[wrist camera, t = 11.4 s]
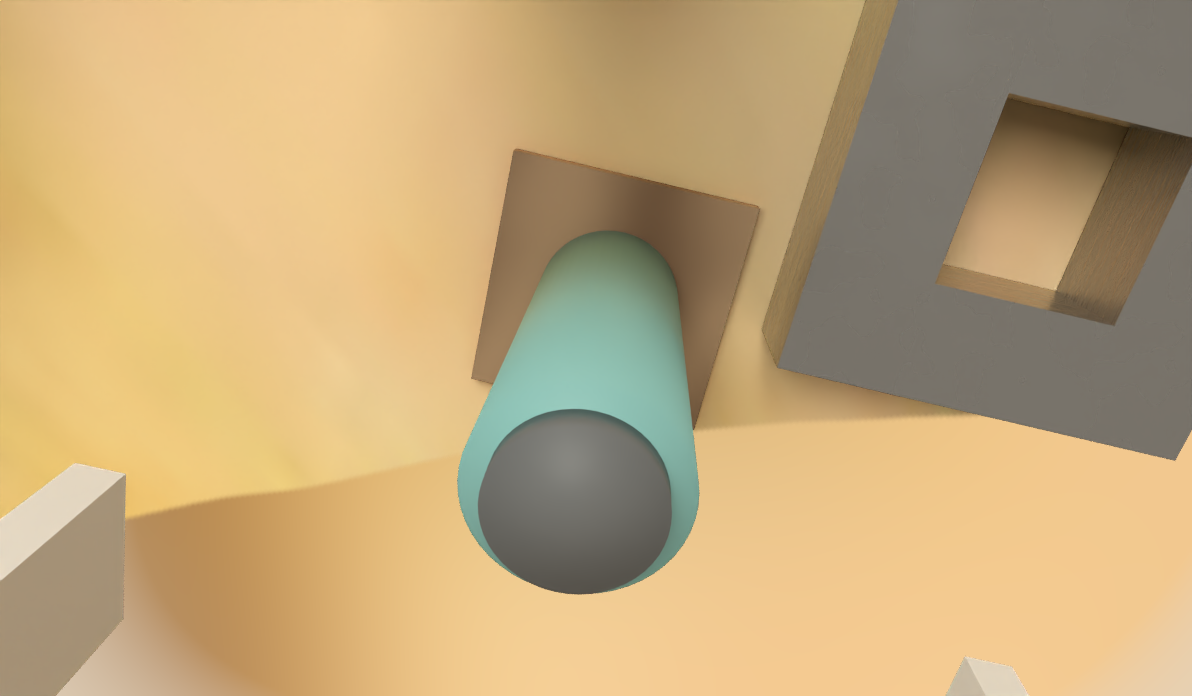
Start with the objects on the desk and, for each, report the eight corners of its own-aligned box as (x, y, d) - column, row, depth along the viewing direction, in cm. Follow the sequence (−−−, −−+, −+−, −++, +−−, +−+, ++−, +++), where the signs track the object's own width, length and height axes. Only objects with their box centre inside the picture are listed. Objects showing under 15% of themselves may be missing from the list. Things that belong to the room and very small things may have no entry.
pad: (474, 372, 33) (471, 378, 32) (516, 148, 29) (513, 150, 29) (692, 423, 33) (693, 430, 32) (758, 206, 30) (759, 209, 29)
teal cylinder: (527, 346, 31) (431, 587, 18) (554, 216, 30) (470, 371, 16) (658, 376, 32) (665, 639, 18) (693, 248, 30) (732, 431, 16)
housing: (761, 329, 31) (777, 367, 28) (887, -69, 26) (927, -88, 23) (1112, 411, 32) (1175, 460, 28) (1301, 33, 27) (1408, 30, 23)
